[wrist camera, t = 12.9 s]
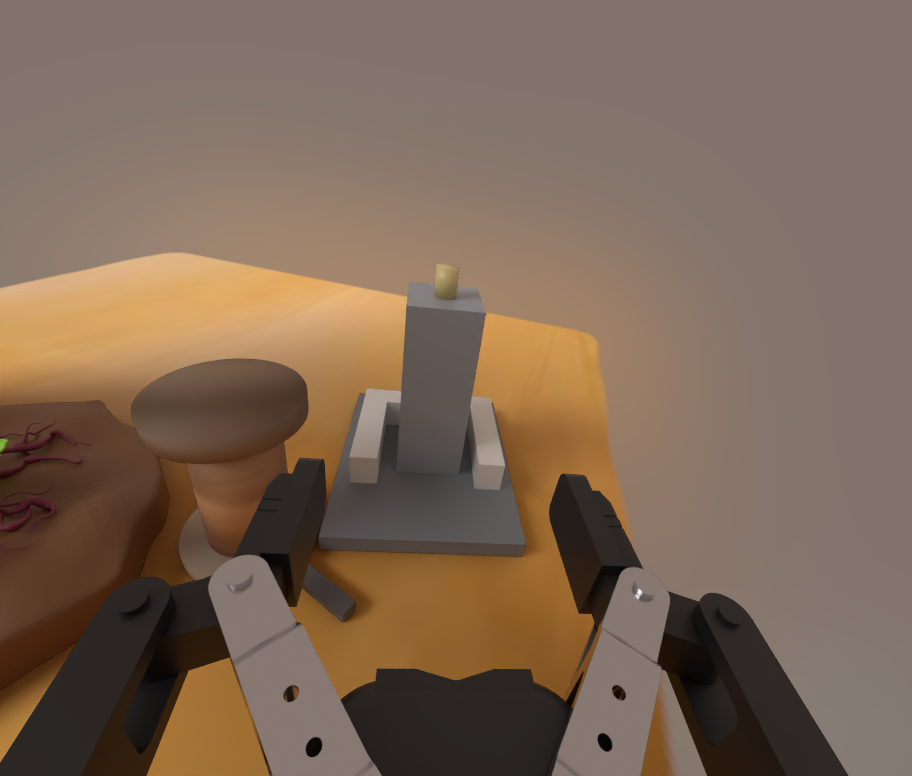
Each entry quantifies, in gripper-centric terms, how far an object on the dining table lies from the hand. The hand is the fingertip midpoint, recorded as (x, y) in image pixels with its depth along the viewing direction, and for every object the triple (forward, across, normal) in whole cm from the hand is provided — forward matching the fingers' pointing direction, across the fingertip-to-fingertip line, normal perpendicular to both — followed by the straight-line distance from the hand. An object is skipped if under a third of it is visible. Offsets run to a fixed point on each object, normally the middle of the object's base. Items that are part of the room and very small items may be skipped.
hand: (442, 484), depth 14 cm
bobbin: (+3, +8, +9) cm, 13 cm away
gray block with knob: (+11, 0, +8) cm, 14 cm away
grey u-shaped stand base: (+11, 0, +9) cm, 14 cm away
